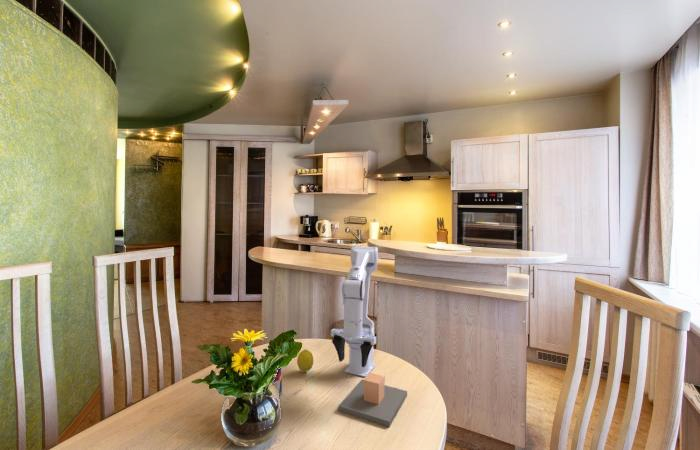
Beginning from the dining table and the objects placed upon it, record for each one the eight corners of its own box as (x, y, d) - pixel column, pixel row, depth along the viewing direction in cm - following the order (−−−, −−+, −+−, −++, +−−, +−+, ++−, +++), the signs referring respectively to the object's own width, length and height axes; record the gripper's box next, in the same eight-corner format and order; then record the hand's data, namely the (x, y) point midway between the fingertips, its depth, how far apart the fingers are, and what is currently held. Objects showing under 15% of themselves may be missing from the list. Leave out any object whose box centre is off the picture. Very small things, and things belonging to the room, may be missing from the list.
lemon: (316, 371, 115) (316, 348, 114) (306, 377, 110) (306, 354, 109) (304, 366, 117) (304, 344, 117) (293, 373, 113) (293, 350, 112)
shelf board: (361, 383, 106) (361, 379, 106) (407, 395, 100) (407, 391, 100) (338, 411, 92) (338, 405, 92) (389, 427, 86) (389, 421, 85)
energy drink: (277, 401, 97) (277, 361, 96) (260, 398, 98) (260, 359, 97) (284, 391, 102) (284, 353, 101) (268, 389, 103) (268, 351, 102)
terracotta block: (369, 392, 99) (370, 372, 99) (384, 396, 97) (384, 376, 97) (363, 400, 95) (363, 379, 95) (378, 404, 93) (378, 383, 92)
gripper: (325, 319, 100) (325, 363, 100) (370, 327, 93) (369, 374, 94) (336, 312, 106) (336, 354, 107) (379, 319, 100) (378, 363, 100)
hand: (352, 362), depth 101 cm, fingers open, 7 cm apart
